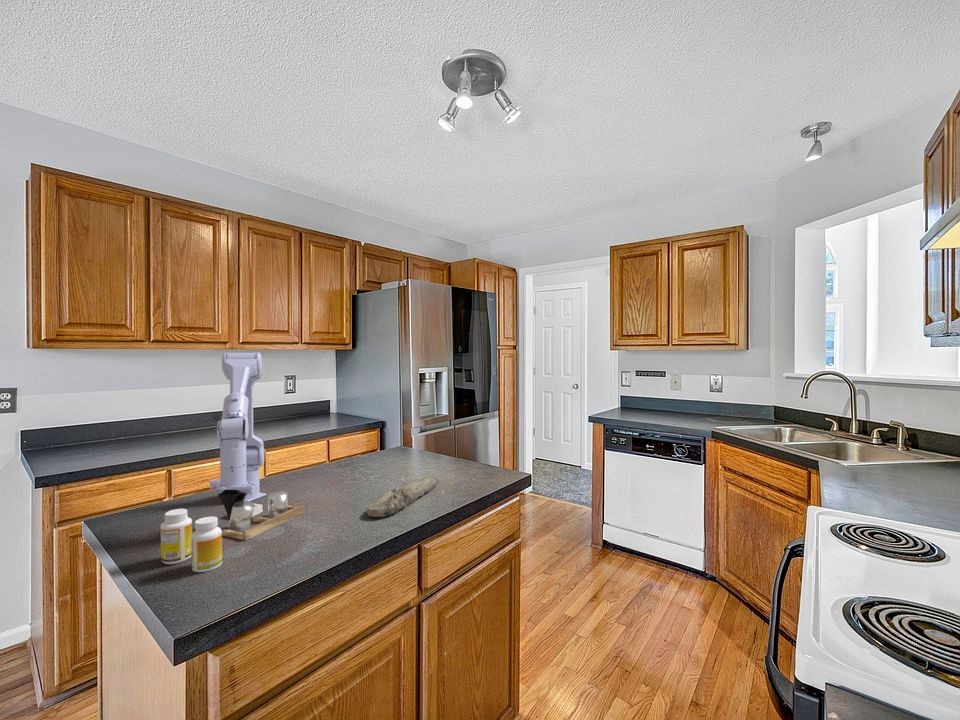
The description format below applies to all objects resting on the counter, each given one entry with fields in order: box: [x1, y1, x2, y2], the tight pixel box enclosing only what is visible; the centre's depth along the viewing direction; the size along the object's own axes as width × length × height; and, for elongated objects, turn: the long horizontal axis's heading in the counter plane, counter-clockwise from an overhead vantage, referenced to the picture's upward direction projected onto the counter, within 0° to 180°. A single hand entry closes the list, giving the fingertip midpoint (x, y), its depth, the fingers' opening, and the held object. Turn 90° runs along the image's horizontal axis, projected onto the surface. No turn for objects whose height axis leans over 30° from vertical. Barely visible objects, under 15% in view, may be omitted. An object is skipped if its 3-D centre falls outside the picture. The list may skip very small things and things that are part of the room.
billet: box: [227, 500, 255, 532], centre depth 110 cm, size 5×5×6 cm
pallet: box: [221, 504, 306, 541], centre depth 113 cm, size 8×19×2 cm, turn 159°
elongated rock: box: [366, 474, 440, 518], centre depth 132 cm, size 35×5×10 cm
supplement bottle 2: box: [190, 516, 223, 573], centre depth 91 cm, size 5×5×10 cm
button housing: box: [226, 502, 264, 518], centre depth 119 cm, size 6×6×2 cm
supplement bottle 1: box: [159, 508, 193, 565], centre depth 94 cm, size 6×6×10 cm
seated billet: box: [267, 490, 289, 518], centre depth 118 cm, size 5×5×6 cm
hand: (233, 519), depth 111 cm, fingers closed, pressing on billet
